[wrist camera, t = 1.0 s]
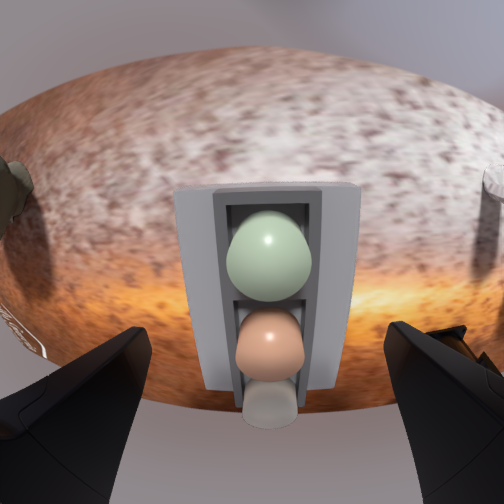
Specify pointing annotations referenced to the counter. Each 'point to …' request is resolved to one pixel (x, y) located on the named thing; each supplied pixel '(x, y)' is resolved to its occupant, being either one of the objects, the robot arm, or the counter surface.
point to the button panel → (299, 304)
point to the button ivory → (269, 403)
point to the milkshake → (494, 182)
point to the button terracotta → (270, 345)
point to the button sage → (268, 257)
